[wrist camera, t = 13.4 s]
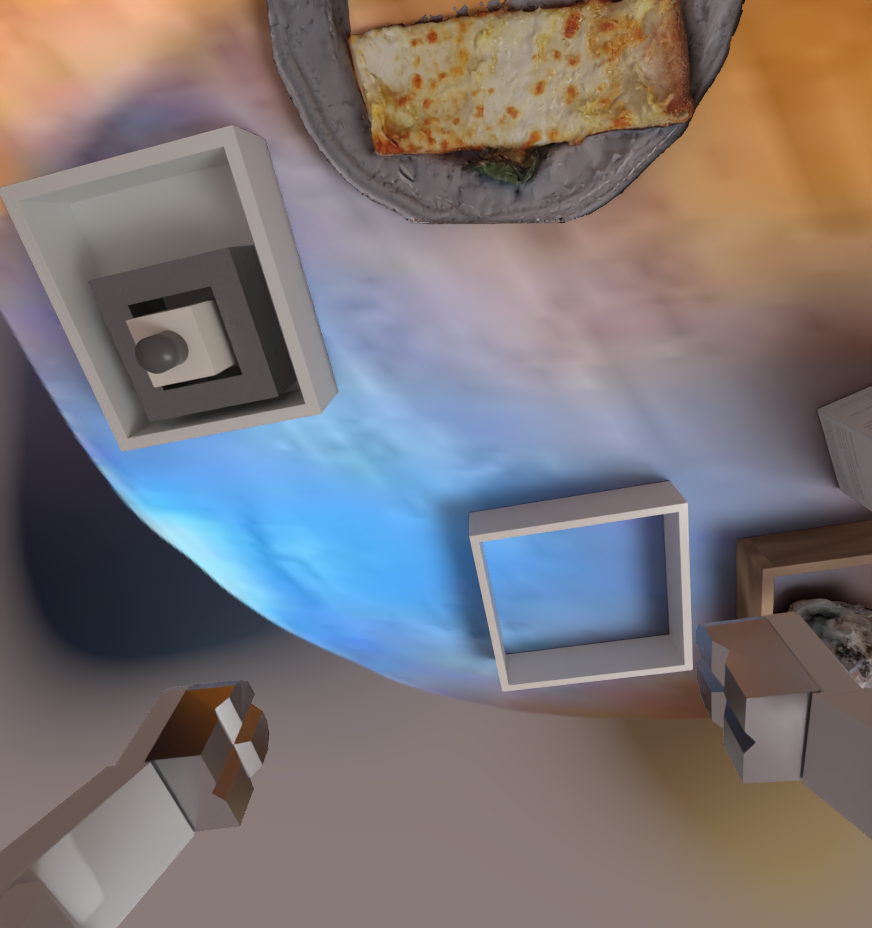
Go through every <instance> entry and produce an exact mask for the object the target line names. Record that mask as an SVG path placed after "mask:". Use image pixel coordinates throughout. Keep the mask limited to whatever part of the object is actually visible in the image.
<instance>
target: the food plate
mask: <svg viewBox="0 0 872 928" xmlns="http://www.w3.org/2000/svg"><path fill="white" fill-rule="evenodd" d="M266 1H267V9H268V18H269V26H270V35H271V37H272V38H271V44H272V48H273V51H272V54H273V57H274V62H275V66H276V69H277V72H278V73H279V76H280V78H281V80H282V83H283V85H284V86H285V88H286V89H287V90H288V91H287V92H288V93H290V99H291V100H293V103H294V105H295V106H296V108H298V109H299V114H300V115H299V116H300V118H301V120H302V121H303V123H304V126H305V128H306V129H307V130H308V131H307V133H309V134H310V135H311V136H312V138H313V139H314V140H315V143H316V144H317V145H318V148H319V150H320V152H321V153H323V154H324V155H325V156H326V158H327V160H329V163H331V164H332V166H333V167H334V169H337V170H338V172H339V174H340V175H341V177H344V180H347V182H349V183H350V184H351V185H352V186H354V188H356V189H357V190H358V191H360V192H361V193H362V195H365V196H366V195H367V197H369V199H370V200H372V201H373V202H375V203H379V204H381V205H383V206H385V207H386V208H389V209H390V210H392V211H394V212H396V213H397V214H399V215H400V216H402V217H403V218H405V219H406V220H409V219H410V221H412V222H413V221H417V222H421V220H422V222H423V221H424V222H429V223H422V224H496V223H525V222H527V223H540V222H542V223H544V222H545V223H551V222H553V220H554V221H555V222H557V220H558V219H560V221H561V222H559V223H565V221H566V222H568V221H570V220H572V219H573V218H574V219H576V218H579V217H583V216H584V215H585V214H586V215H587V214H591V213H593V212H594V211H596V210H597V209H599V208H601V207H603V206H604V205H606V204H607V203H608V202H609V201H611V200H612V199H613V198H615V197H616V196H618V195H619V194H621V193H623V191H624V190H625V189H626V188H627V187H628V186H629V185H630V184H631V183H632V182H633V181H634V180H635V179H637V178H638V177H639V175H640V174H641V173H642V172H643V171H644V170H645V169H646V168H647V167H648V166H649V165H650V164H651V163H652V162H653V161H654V160H655V159H656V158H658V156H660V154H661V153H663V152H664V151H665V150H666V149H667V148H668V147H670V145H671V144H673V143H674V142H675V141H676V140H677V139H678V138H680V137H681V136H682V135H683V133H684V131H686V129H687V128H688V126H689V122H690V121H691V119H692V117H693V114H694V112H695V109H696V107H697V106H698V105H699V102H701V100H702V98H703V96H704V95H705V93H706V92H707V91H708V89H709V87H711V85H712V84H713V82H714V80H715V78H716V76H717V75H718V73H719V72H720V70H721V68H722V67H723V64H724V62H725V60H726V58H727V55H728V53H729V50H730V41H731V39H732V38H731V37H732V36H734V33H735V31H736V29H737V27H738V24H739V21H740V17H741V15H742V12H743V10H742V4H744V2H745V0H505V2H504V3H502V4H501V3H500V2H499V1H500V0H491V1H489V2H488V5H487V8H488V10H489V12H486V11H479V10H478V12H477V13H475V15H474V16H472V17H469V16H468V13H467V10H468V8H467V6H466V5H464V6H463V7H462V8H461V9H460V10H459V11H457V16H456V17H452V18H448V20H447V21H442V15H438V16H432V15H430V17H431V18H430V19H429V21H427V19H428V18H427V15H424V17H422V18H421V19H420V20H419V21H418V22H416V23H415V24H414V25H412V26H404V25H403V24H402V23H400V24H399V25H390V26H388V27H380V28H377V29H373V30H370V31H368V32H364V33H363V34H361V35H359V34H355V35H350V31H351V27H350V22H349V8H348V0H266ZM480 5H481V6H482V5H483V2H480ZM530 6H531V7H530ZM453 9H454V11H455V10H456V7H455V6H454V8H453ZM469 10H470V9H469ZM362 116H364V117H365V120H363V119H362ZM431 221H432V222H431ZM420 224H421V223H420Z"/></svg>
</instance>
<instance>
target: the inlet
mask: <svg viewBox="0 0 872 928" xmlns="http://www.w3.org/2000/svg"><path fill="white" fill-rule="evenodd" d="M88 283H89V285H90V288H91V290H92V292H93V294H94V297H95V299H96V301H97V304H98V306H99V308H100V310H101V313H102V315H103V317H104V319H105V322H106V324H107V326H108V328H109V331H110V333H111V335H112V338H113V340H114V342H115V344H116V347H117V349H118V351H119V353H120V356H121V358H122V360H123V362H124V365H125V367H126V369H127V372H128V374H129V376H130V378H131V381H132V383H133V385H134V387H135V390H136V392H137V394H138V396H139V399H140V401H141V403H142V406H143V408H144V410H145V412H146V415H147V417H148V419H149V421H150V422H153V421H158V420H163V419H168V418H173V417H178V416H183V415H188V414H193V413H198V412H203V411H209V410H214V409H219V408H224V407H229V406H234V405H239V404H244V403H249V402H254V401H259V400H264V399H270V398H275V397H279V396H280V395H281V394H282V393H283V392H284V391H285V390H287V389H288V388H289V387H290V386H291V385H292V384H293V383H294V382H295V381H296V377H295V373H294V370H293V367H292V364H291V361H290V358H289V355H288V351H287V348H286V345H285V342H284V339H283V336H282V333H281V329H280V326H279V323H278V320H277V317H276V314H275V311H274V307H273V304H272V301H271V298H270V295H269V292H268V289H267V285H266V282H265V279H264V276H263V273H262V270H261V267H260V263H259V260H258V257H257V254H256V251H255V248H254V245H248V246H237V247H227V248H223V249H219V250H215V251H211V252H206V253H202V254H198V255H194V256H190V257H185V258H181V259H177V260H173V261H169V262H164V263H160V264H156V265H152V266H147V267H143V268H139V269H135V270H131V271H126V272H122V273H118V274H114V275H110V276H105V277H101V278H97V279H93V280H89V281H88ZM210 286H211V288H212V291H213V294H214V297H215V299H216V302H217V305H218V308H219V311H220V313H221V316H222V319H223V322H224V325H225V327H226V330H227V333H228V336H229V339H230V341H231V344H232V347H233V350H234V353H235V355H236V358H237V361H238V364H239V366H234V367H229V368H227V369H225V370H223V371H222V372H220V373H218V374H217V375H213V376H208V377H203V378H198V379H193V380H189V381H184V382H179V383H174V384H169V385H164V386H159V387H154V386H153V384H152V381H151V379H150V377H149V374H148V372H147V371H146V370H145V369H144V368H142V367H141V366H140V364H139V363H138V361H137V359H136V356H135V347H136V344H135V342H134V339H133V337H132V335H131V332H130V330H129V328H128V325H127V323H126V320H130V319H133V318H137V317H141V316H144V315H148V314H151V313H155V312H159V311H162V310H166V309H167V308H166V306H165V303H164V301H163V298H162V297H166V296H171V295H175V294H179V293H184V292H188V291H192V290H197V289H201V288H206V287H210Z"/></svg>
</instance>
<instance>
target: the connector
mask: <svg viewBox="0 0 872 928" xmlns="http://www.w3.org/2000/svg"><path fill="white" fill-rule="evenodd" d="M126 323H127V325H128V328H129V330H130V332H131V335H132V337H133V339H134V342H135V344H136V347H135V356H136V359H137V361H138V363H139V364H140V366H141V367H142V368H144V369H145V370H146V371H147V372H148V374H149V377H150V379H151V381H152V384H153V386H154V387H159V386H164V385H169V384H174V383H179V382H184V381H189V380H193V379H198V378H203V377H208V376H213V375H217V374H218V373H220V372H222V371H223V370H225V369H227V368H228V367H230V366H232V365H233V364H235V363H237V362H238V361H237V358H236V355H235V353H234V350H233V347H232V344H231V341H230V339H229V336H228V333H227V330H226V327H225V325H224V322H223V319H222V316H221V313H220V311H219V308H218V305H217V302H216V299H215V298H212V299H208V300H203V301H199V302H194V303H190V304H186V305H181V306H177V307H173V308H169V309H166V310H162V311H159V312H155V313H151V314H148V315H144V316H141V317H137V318H133V319H130V320H126Z"/></svg>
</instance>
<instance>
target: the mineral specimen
mask: <svg viewBox="0 0 872 928" xmlns="http://www.w3.org/2000/svg"><path fill="white" fill-rule="evenodd" d="M788 612H795V613H797V614H798V615H800V616H801V617H802V618H803V620H804V621H805V622H806V623H807V624H808V625H809V627H810V628H811V629H812V630H813V631H814V632H815V634H816V635H817V636H818V637H819V638H820V639H821V641H822V642H823V643H824V644H825V645H826V646H827V648H828V649H829V650H830V651H831V652H832V653H833V655H834V656H835V657H836V658H837V659H838V661H839V662H840V663H841V664H842V665H843V666H844V668H845V669H846V670H847V671H848V672H849V673H850V675H851V676H852V677H853V678H854V679H855V680H856V682H857V683H858V684H859V685H860V686H861V687H862V688H872V609H868V608H866V607H865V606H864V605H860V604H854V605H853V604H849V603H845V602H840V601H830V600H827V599H819V598H818V599H810V600H800V601H797V602H794V603H792V604H790V608H789V610H788Z"/></svg>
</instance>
